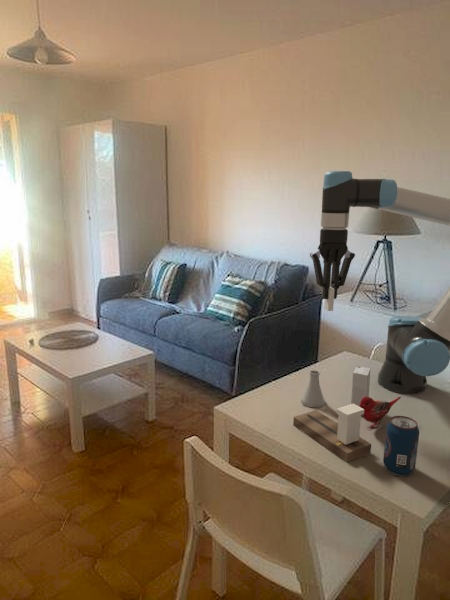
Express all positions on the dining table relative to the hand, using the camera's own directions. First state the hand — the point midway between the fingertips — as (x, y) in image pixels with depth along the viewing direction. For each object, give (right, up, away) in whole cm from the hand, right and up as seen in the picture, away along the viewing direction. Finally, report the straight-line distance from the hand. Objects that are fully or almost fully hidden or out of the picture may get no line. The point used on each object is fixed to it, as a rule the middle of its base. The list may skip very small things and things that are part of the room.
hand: (328, 309), depth 134 cm
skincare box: (+9, -29, +1) cm, 31 cm away
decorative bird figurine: (+12, -32, -8) cm, 35 cm away
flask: (-4, -28, +4) cm, 29 cm away
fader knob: (0, -32, -21) cm, 38 cm away
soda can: (+10, -36, -28) cm, 47 cm away
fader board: (-3, -33, -15) cm, 37 cm away
